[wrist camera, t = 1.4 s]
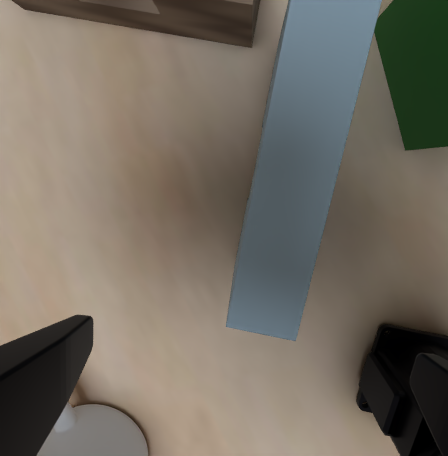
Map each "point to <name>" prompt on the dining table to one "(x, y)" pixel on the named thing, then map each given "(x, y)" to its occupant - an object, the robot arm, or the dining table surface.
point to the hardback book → (417, 68)
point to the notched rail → (164, 16)
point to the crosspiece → (298, 160)
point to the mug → (94, 433)
